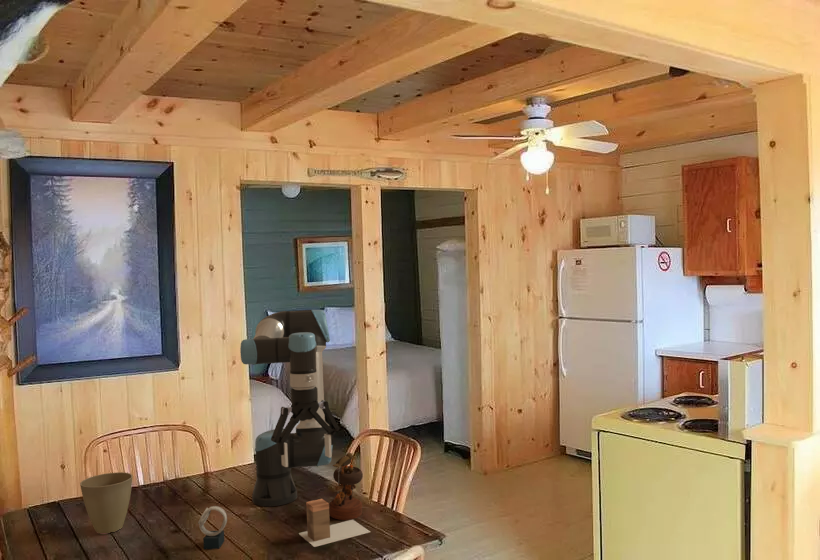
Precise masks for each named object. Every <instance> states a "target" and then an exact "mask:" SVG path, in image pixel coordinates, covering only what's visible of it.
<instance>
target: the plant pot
mask: <svg viewBox="0 0 820 560" xmlns="http://www.w3.org/2000/svg"><path fill="white" fill-rule="evenodd" d="M79 484H80V489H81V490H80V491H81V495H82V498H83V503H84V506H85V510H86V513H87V515H88V518H89V520H90V522H91V525H92V526H93V528H94V530H95V533H96V532H98V533H110V532H115V531H117V530H119V529H121V528H123V526H124V523H125V520H126V517H127V513H128V510H129V505H130V500H131V495H132V493H131V492H132V485H133V474H132V473H130V472H124V471H123V472H119V471H118V472H116V471H115V472H109V473H108V472H106V473H100V474H97V475H93V476H90V477H88V478H85V479H83V480H81V482H79ZM121 530H122V529H121ZM119 531H120V530H119ZM115 533H116V532H115Z"/></svg>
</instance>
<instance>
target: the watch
mask: <svg viewBox="0 0 820 560" xmlns="http://www.w3.org/2000/svg"><path fill="white" fill-rule="evenodd" d="M212 511H216V512H218V513H220V514H221V515H222V517H223V521H222V523H221V527H220V528H219V529H218V530H208V529H206V527H205V525H204V524H205V523H206V521H207V520H208V518H209V516H210V515H211V512H212ZM227 523H228V515H227V513H226V510H225V509H223V508H222V507H221V506H218V505H213V506H212V505H211V506H209V508H208V507H206V508H205V510H204V511H203V512H202V514H201V516H200V518H199V520H198V525H199V526H198V527H199V529H200V531H201V533H202V534H204V535H205V536H204V537H203V541H202V542H203V550H219V549H220V548H221V547H222V545H223V544H224V542H225V530H224V529H225V527H226V526H227Z"/></svg>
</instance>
